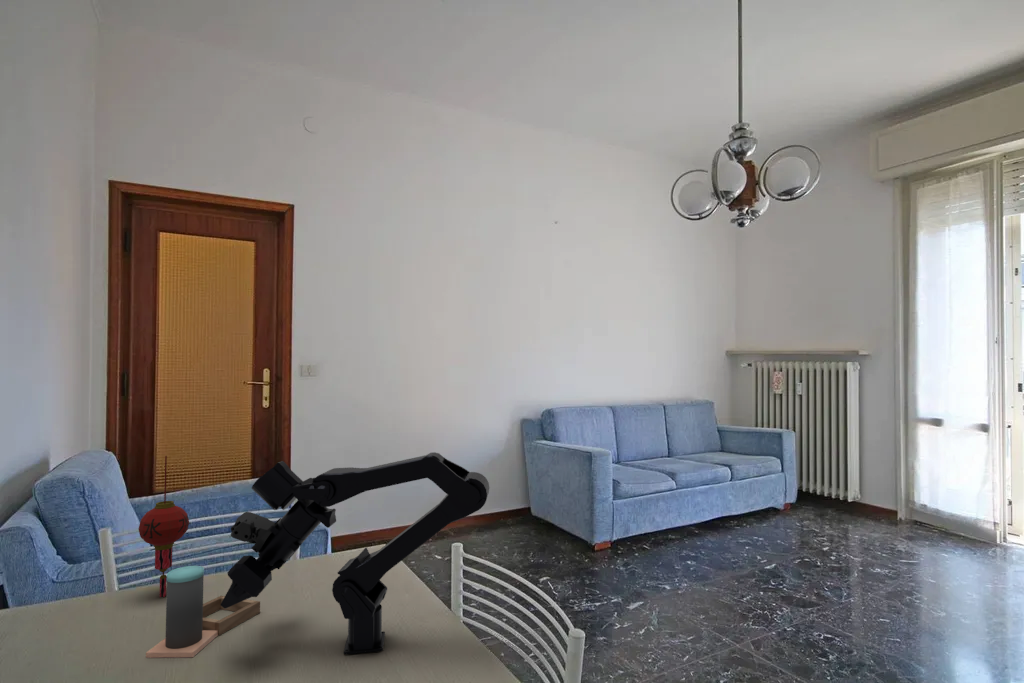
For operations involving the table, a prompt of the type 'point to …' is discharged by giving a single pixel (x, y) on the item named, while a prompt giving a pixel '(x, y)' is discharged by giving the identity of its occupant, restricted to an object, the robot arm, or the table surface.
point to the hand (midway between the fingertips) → (235, 593)
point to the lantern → (163, 532)
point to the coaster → (189, 651)
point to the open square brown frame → (241, 614)
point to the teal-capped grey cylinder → (184, 606)
